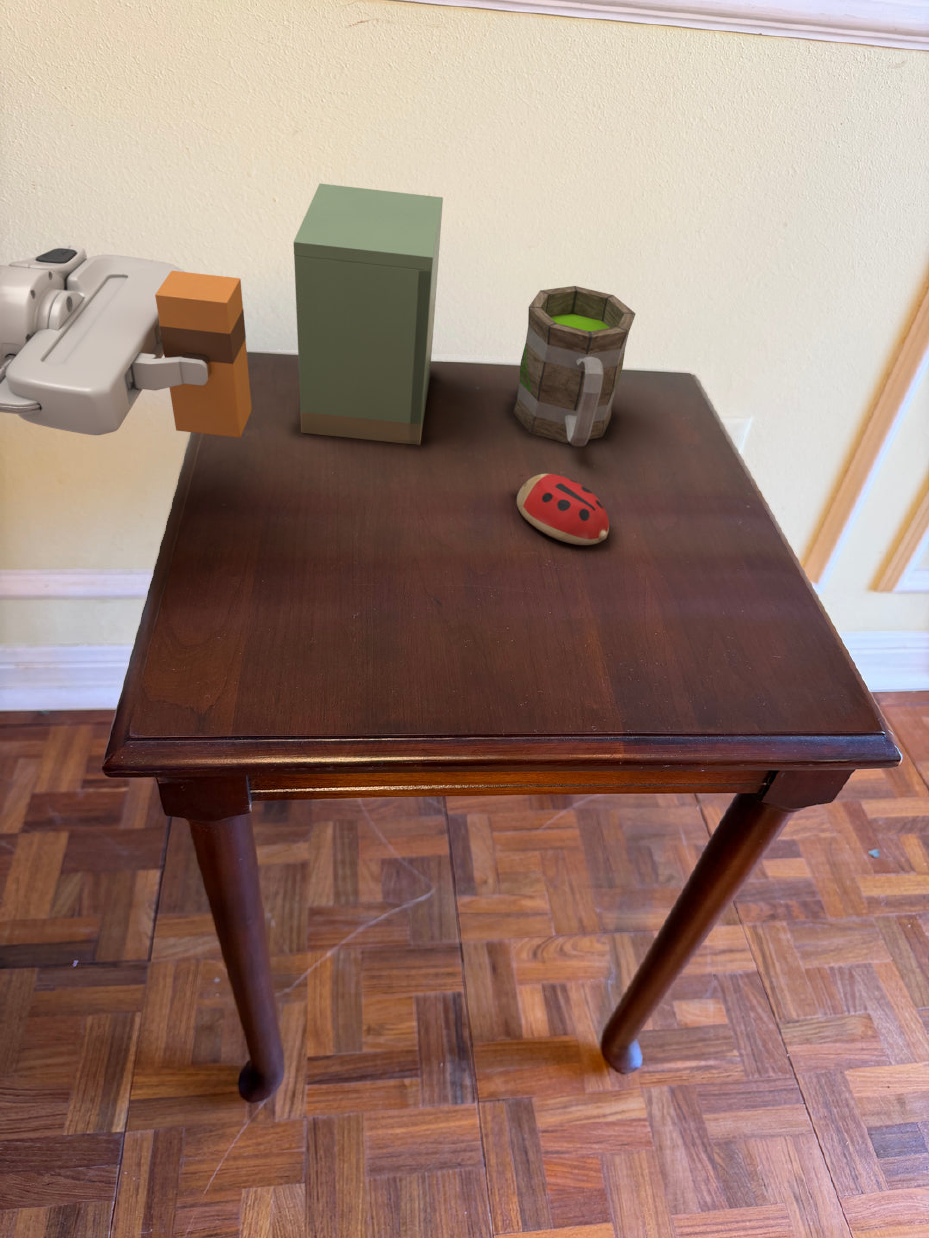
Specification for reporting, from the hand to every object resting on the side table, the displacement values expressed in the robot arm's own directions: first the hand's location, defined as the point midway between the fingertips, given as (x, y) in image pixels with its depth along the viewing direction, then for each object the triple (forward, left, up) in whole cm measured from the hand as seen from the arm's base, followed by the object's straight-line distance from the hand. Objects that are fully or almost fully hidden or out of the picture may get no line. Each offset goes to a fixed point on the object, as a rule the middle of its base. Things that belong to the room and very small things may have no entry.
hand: (218, 352), depth 67 cm
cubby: (+9, +23, -17) cm, 30 cm away
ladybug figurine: (+29, +6, -17) cm, 34 cm away
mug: (+30, +22, -17) cm, 41 cm away
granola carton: (-1, 0, -6) cm, 6 cm away
